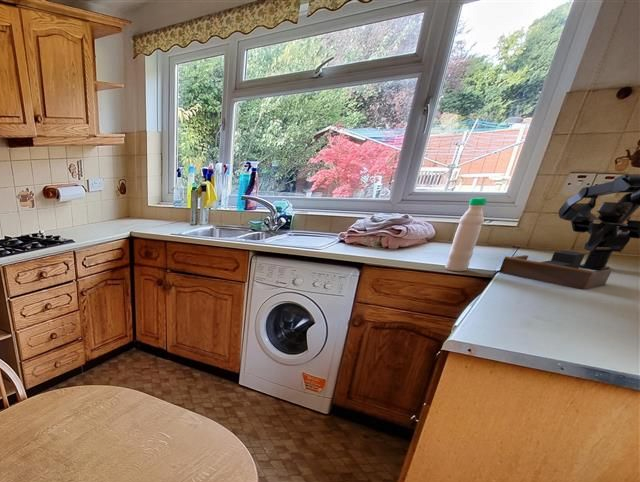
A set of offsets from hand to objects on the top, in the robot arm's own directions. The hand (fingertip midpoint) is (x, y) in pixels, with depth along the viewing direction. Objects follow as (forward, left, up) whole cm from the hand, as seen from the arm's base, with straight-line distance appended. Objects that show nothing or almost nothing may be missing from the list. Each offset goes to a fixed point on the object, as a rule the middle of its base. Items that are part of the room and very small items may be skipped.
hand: (588, 245), depth 150 cm
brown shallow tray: (+15, 0, -9) cm, 18 cm away
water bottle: (+30, -22, -10) cm, 39 cm away
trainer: (+13, 0, -9) cm, 16 cm away
